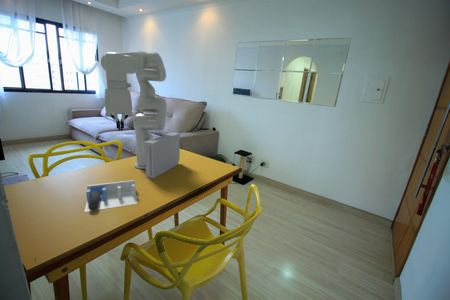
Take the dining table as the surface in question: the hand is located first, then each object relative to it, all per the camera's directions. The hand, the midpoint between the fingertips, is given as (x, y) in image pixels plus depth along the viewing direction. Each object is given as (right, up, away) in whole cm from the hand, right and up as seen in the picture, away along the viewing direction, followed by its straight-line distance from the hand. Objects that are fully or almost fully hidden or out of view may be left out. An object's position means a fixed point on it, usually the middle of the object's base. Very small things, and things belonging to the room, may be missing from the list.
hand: (120, 129), depth 93 cm
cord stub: (-8, -30, -4) cm, 32 cm away
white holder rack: (-4, -30, +1) cm, 30 cm away
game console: (+9, -21, +35) cm, 42 cm away
